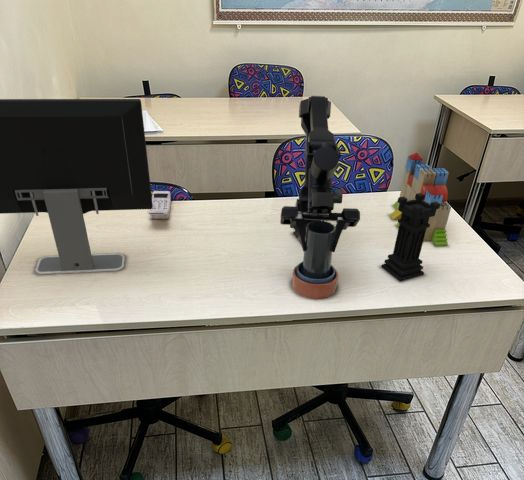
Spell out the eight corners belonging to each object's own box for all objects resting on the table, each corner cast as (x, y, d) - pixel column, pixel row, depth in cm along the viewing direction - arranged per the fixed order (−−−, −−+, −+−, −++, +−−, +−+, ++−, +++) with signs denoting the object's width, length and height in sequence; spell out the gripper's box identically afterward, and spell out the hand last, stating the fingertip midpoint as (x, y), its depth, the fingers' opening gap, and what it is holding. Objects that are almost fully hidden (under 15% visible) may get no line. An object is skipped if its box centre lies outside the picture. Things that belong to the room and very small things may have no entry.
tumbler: (312, 262, 131) (317, 217, 123) (334, 271, 128) (341, 226, 120) (296, 272, 127) (301, 227, 119) (319, 282, 124) (325, 237, 116)
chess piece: (399, 281, 134) (417, 210, 121) (381, 267, 139) (396, 197, 126) (423, 274, 137) (442, 204, 124) (404, 261, 142) (420, 191, 129)
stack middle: (320, 273, 135) (322, 256, 132) (340, 291, 129) (342, 274, 126) (288, 280, 132) (289, 264, 129) (307, 300, 125) (309, 283, 122)
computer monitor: (158, 253, 141) (141, 96, 115) (158, 268, 134) (139, 106, 109) (2, 259, 135) (-53, 96, 110) (-6, 276, 129) (-66, 107, 103)
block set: (457, 245, 150) (477, 181, 137) (412, 247, 148) (428, 182, 136) (422, 204, 171) (437, 146, 159) (382, 205, 169) (394, 146, 157)
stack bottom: (321, 271, 136) (323, 257, 134) (344, 292, 129) (346, 279, 126) (284, 280, 132) (285, 266, 130) (305, 302, 125) (307, 289, 122)
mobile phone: (146, 212, 146) (151, 178, 165) (148, 231, 150) (153, 195, 169) (167, 212, 147) (170, 178, 166) (168, 231, 151) (171, 195, 170)
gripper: (283, 173, 115) (282, 240, 114) (365, 176, 116) (364, 243, 115) (281, 192, 127) (279, 253, 125) (355, 194, 127) (354, 256, 126)
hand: (318, 251), depth 122 cm, fingers closed on tumbler, 7 cm apart
